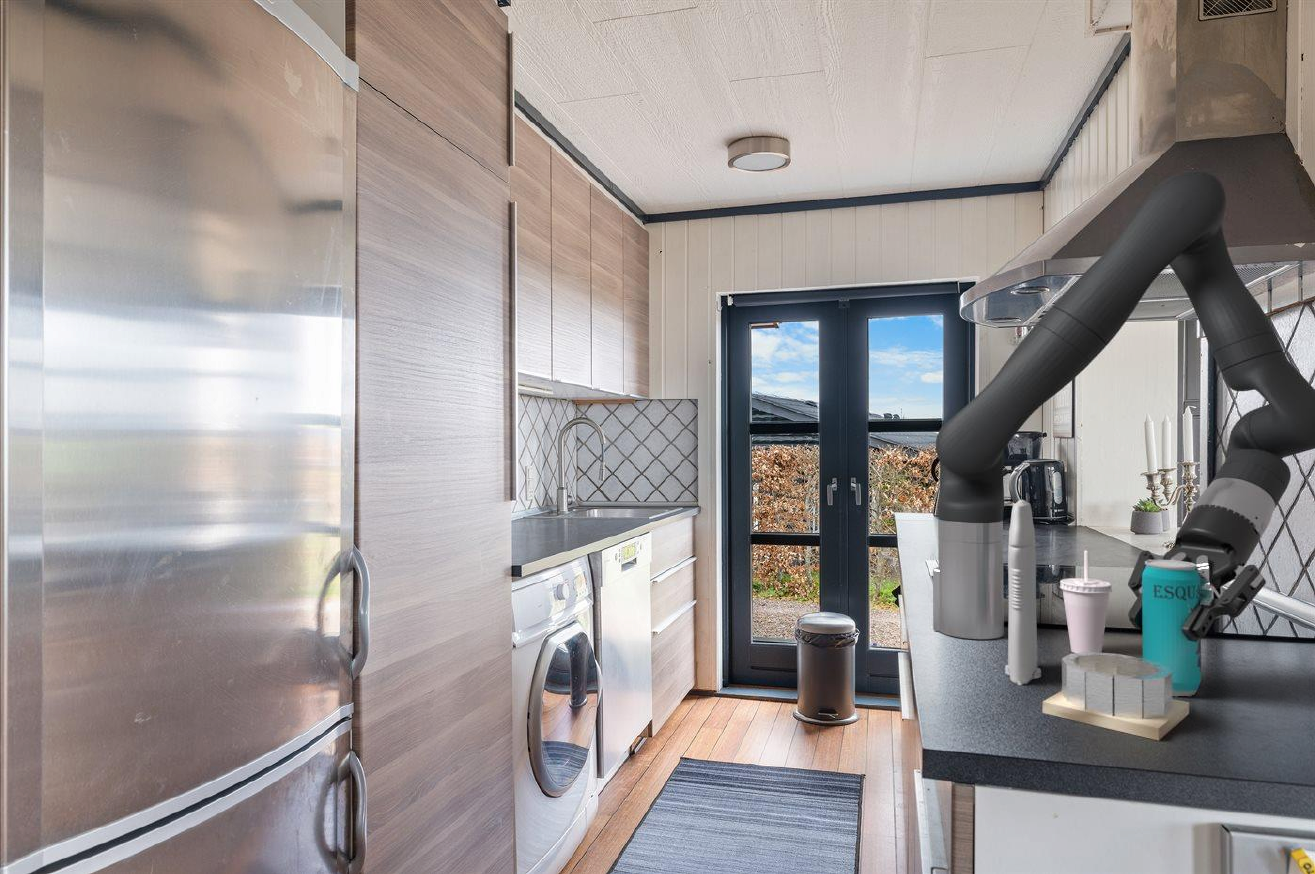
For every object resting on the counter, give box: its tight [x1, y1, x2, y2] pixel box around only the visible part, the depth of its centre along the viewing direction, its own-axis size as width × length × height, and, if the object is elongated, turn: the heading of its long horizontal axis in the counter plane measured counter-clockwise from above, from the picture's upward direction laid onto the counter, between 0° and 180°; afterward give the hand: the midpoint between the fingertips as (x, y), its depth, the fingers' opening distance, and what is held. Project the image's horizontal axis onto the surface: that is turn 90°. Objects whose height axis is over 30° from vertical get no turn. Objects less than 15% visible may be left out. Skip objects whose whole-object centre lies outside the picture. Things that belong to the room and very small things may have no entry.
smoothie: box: [1059, 549, 1113, 654], centre depth 110 cm, size 6×6×14 cm
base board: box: [1042, 690, 1190, 741], centre depth 86 cm, size 11×11×1 cm
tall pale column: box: [1004, 499, 1042, 686], centre depth 100 cm, size 11×4×22 cm, turn 149°
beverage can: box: [1142, 560, 1202, 697], centre depth 93 cm, size 6×6×15 cm
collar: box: [1061, 652, 1173, 719], centre depth 86 cm, size 10×10×4 cm
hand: (1161, 630), depth 93 cm, fingers closed on beverage can, 5 cm apart
